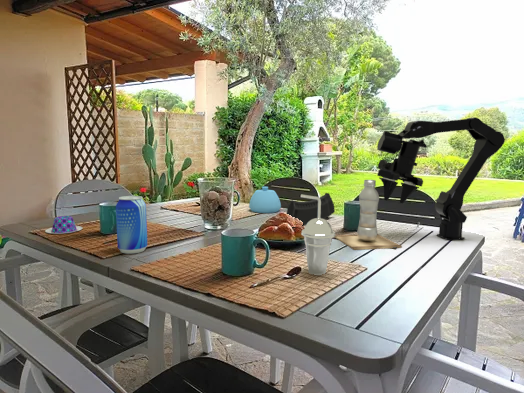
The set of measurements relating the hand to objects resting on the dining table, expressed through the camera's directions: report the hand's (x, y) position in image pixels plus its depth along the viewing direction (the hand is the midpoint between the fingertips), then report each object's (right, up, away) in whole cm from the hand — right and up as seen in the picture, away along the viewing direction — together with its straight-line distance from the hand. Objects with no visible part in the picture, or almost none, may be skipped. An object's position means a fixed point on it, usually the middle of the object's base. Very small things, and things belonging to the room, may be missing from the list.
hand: (393, 201), depth 130 cm
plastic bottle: (-11, -13, -6) cm, 18 cm away
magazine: (-25, -9, +25) cm, 36 cm away
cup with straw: (-32, -17, -35) cm, 50 cm away
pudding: (-117, -11, +6) cm, 118 cm away
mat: (-11, -13, -6) cm, 18 cm away
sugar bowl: (-44, -5, +50) cm, 67 cm away
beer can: (-84, -14, -18) cm, 87 cm away
